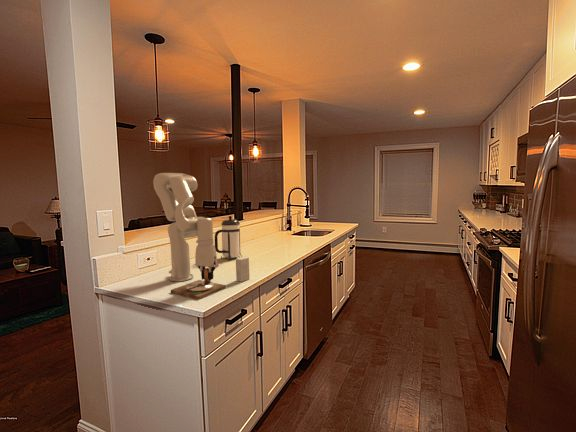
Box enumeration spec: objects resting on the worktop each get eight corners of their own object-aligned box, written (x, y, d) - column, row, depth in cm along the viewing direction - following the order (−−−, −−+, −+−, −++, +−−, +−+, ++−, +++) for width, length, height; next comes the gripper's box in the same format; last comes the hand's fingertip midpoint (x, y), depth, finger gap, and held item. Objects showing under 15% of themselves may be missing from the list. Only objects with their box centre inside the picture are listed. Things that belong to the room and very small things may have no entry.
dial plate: (170, 292, 150) (170, 289, 150) (198, 282, 166) (198, 279, 166) (199, 299, 141) (198, 296, 141) (226, 288, 156) (226, 284, 156)
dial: (200, 281, 161) (199, 266, 161) (219, 285, 155) (219, 269, 154) (177, 290, 148) (176, 273, 148) (197, 294, 142) (196, 277, 141)
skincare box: (244, 277, 173) (243, 256, 172) (249, 279, 171) (249, 257, 170) (236, 280, 169) (235, 258, 168) (241, 281, 166) (240, 259, 165)
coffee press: (223, 255, 231) (222, 214, 228) (244, 255, 228) (243, 214, 225) (215, 261, 213) (213, 217, 211) (237, 261, 211) (236, 217, 208)
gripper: (187, 243, 155) (189, 280, 156) (215, 244, 149) (217, 282, 150) (196, 241, 162) (198, 276, 163) (224, 242, 156) (225, 278, 157)
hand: (207, 278), depth 157 cm, fingers open, 3 cm apart
